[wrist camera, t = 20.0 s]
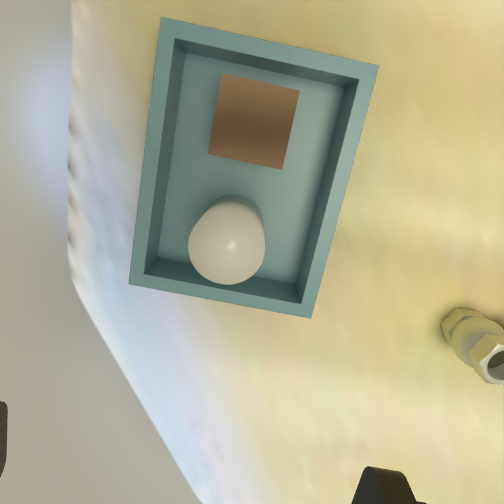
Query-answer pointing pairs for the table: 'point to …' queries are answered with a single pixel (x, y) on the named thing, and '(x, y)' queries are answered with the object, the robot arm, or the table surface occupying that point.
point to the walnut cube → (253, 121)
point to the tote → (246, 164)
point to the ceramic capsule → (228, 241)
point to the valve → (476, 343)
